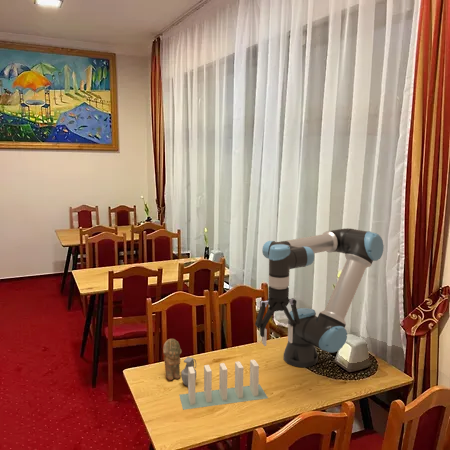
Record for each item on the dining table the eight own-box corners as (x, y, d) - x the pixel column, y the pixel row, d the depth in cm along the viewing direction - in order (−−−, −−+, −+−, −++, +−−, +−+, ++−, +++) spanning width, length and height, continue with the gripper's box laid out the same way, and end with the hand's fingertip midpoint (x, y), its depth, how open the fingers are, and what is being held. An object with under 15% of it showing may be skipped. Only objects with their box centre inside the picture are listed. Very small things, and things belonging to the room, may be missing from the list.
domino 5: (254, 388, 164) (254, 359, 162) (258, 395, 159) (258, 365, 157) (249, 389, 163) (250, 360, 162) (253, 396, 159) (254, 366, 157)
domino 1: (193, 396, 158) (192, 366, 156) (195, 403, 153) (195, 373, 152) (188, 397, 158) (188, 367, 156) (190, 404, 153) (190, 373, 151)
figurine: (169, 383, 168) (168, 348, 166) (160, 375, 175) (159, 340, 173) (187, 378, 173) (187, 343, 170) (178, 369, 180) (178, 336, 177)
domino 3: (224, 392, 161) (224, 363, 159) (227, 399, 156) (227, 369, 154) (219, 393, 161) (219, 363, 159) (222, 400, 156) (222, 369, 154)
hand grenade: (192, 390, 163) (191, 364, 162) (178, 387, 166) (178, 361, 164) (199, 382, 169) (199, 356, 168) (186, 379, 171) (186, 354, 170)
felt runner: (259, 385, 167) (259, 384, 167) (268, 399, 158) (268, 398, 157) (179, 396, 159) (179, 394, 159) (183, 411, 150) (183, 409, 150)
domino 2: (208, 394, 160) (208, 364, 158) (211, 401, 155) (211, 371, 153) (204, 395, 159) (204, 365, 157) (206, 402, 154) (206, 371, 153)
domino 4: (239, 390, 162) (239, 361, 161) (242, 397, 158) (243, 367, 156) (234, 391, 162) (235, 361, 160) (238, 398, 157) (238, 368, 155)
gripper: (302, 281, 163) (300, 336, 167) (247, 285, 158) (246, 341, 162) (310, 287, 156) (308, 344, 160) (253, 291, 151) (252, 350, 154)
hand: (277, 342), depth 161 cm, fingers open, 10 cm apart
